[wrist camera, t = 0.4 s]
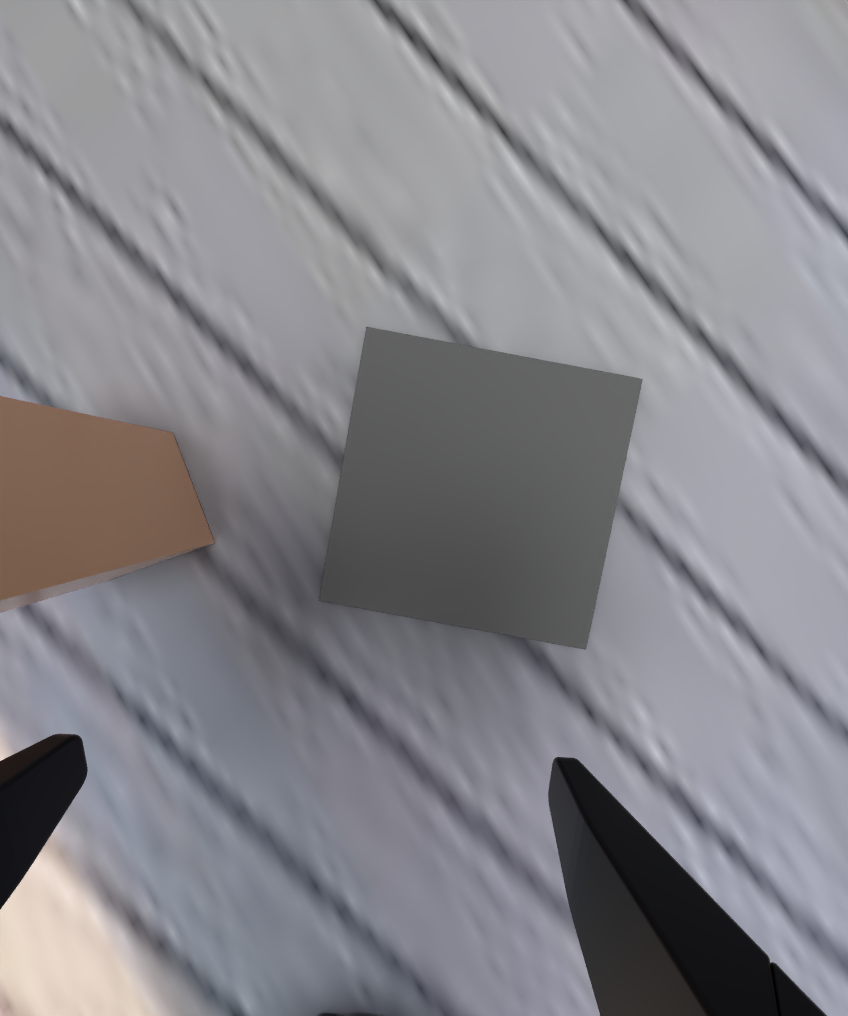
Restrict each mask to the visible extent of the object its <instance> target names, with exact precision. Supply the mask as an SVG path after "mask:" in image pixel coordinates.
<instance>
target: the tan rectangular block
mask: <svg viewBox="0 0 848 1016" xmlns="http://www.w3.org/2000/svg"><path fill="white" fill-rule="evenodd" d="M213 543H215V542H214V539H213V536H212V534H211V531H210V529H209V526H208V523H207V521H206V518H205V515H204V513H203V510H202V508H201V505H200V502H199V500H198V497H197V495H196V492H195V489H194V487H193V484H192V482H191V479H190V476H189V474H188V471H187V468H186V466H185V463H184V461H183V458H182V455H181V453H180V450H179V448H178V445H177V442H176V440H175V437H174V434H173V433H171V432H166V431H162V430H157V429H152V428H148V427H143V426H138V425H133V424H129V423H124V422H119V421H115V420H110V419H105V418H101V417H96V416H91V415H86V414H82V413H77V412H72V411H68V410H63V409H58V408H54V407H49V406H44V405H39V404H35V403H30V402H25V401H21V400H16V399H11V398H7V397H2V396H0V613H1V612H5V611H8V610H12V609H15V608H18V607H22V606H25V605H28V604H32V603H35V602H38V601H42V600H45V599H48V598H52V597H55V596H58V595H62V594H65V593H68V592H72V591H75V590H79V589H82V588H85V587H89V586H92V585H95V584H99V583H102V582H105V581H108V580H111V579H114V578H117V577H120V576H123V575H125V574H128V573H131V572H134V571H137V570H139V569H142V568H145V567H148V566H151V565H153V564H156V563H159V562H162V561H165V560H168V559H170V558H173V557H176V556H179V555H182V554H184V553H187V552H190V551H193V550H196V549H199V548H201V547H204V546H207V545H210V544H213Z"/></svg>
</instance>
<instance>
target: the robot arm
mask: <svg viewBox="0 0 848 1016" xmlns="http://www.w3.org/2000/svg"><path fill="white" fill-rule="evenodd" d="M87 770H88V769H87V763H86V757H85V752H84V746H83V741H82V739H81V737H80V736H79V735H75V734H55V735H52V736H50V737H48V738H46V739H44V740H42V741H40V742H38V743H36V744H34V745H32V746H30V747H28V748H26V749H24V750H22V751H20V752H18V753H16V754H14V755H12V756H10V757H8V758H6V759H4V760H2V761H0V909H1V908H2V906H3V905H4V904H5V902H6V901H7V900H8V898H9V897H10V896H11V894H12V893H13V891H14V890H15V889H16V887H17V886H18V884H19V883H20V882H21V880H22V879H23V877H24V876H25V874H26V873H27V871H28V870H29V868H30V867H31V865H32V864H33V862H34V861H35V859H36V857H37V856H38V854H39V853H40V851H41V850H42V848H43V846H44V845H45V843H46V842H47V840H48V839H49V837H50V836H51V834H52V832H53V831H54V829H55V828H56V826H57V825H58V823H59V821H60V820H61V818H62V817H63V815H64V814H65V812H66V810H67V809H68V807H69V806H70V804H71V803H72V801H73V799H74V798H75V796H76V795H77V793H78V792H79V790H80V789H81V787H82V785H83V783H84V781H85V779H86V776H87ZM548 798H549V807H550V812H551V817H552V822H553V827H554V833H555V838H556V843H557V848H558V853H559V858H560V863H561V868H562V873H563V878H564V883H565V888H566V893H567V898H568V903H569V907H570V911H571V914H572V918H573V922H574V926H575V929H576V933H577V936H578V939H579V943H580V946H581V950H582V953H583V957H584V960H585V964H586V967H587V971H588V974H589V978H590V981H591V984H592V988H593V991H594V995H595V998H596V1002H597V1005H598V1009H599V1012H600V1016H827V1015H826V1014H825V1013H824V1012H823V1011H822V1010H821V1009H820V1008H819V1007H818V1006H817V1005H816V1004H815V1003H814V1002H813V1001H812V1000H811V999H810V998H809V997H808V996H807V995H806V994H805V993H804V992H803V991H802V990H801V989H800V988H799V987H798V986H797V985H796V984H795V983H794V982H793V981H792V980H791V979H790V978H789V977H788V976H787V975H786V974H785V973H784V972H783V970H782V969H781V968H780V967H779V966H778V965H777V964H775V963H773V962H772V963H770V959H769V957H768V955H767V954H766V953H765V952H764V951H763V950H762V949H761V948H760V947H759V946H758V945H757V944H756V943H755V942H754V941H753V940H752V939H751V938H750V937H749V936H748V935H747V934H746V933H745V932H744V931H743V929H742V928H741V927H740V926H739V925H738V924H737V923H736V922H735V921H734V920H733V919H732V918H731V917H730V916H729V915H728V914H727V913H726V912H725V911H724V910H723V909H722V908H721V907H720V906H719V905H718V904H717V903H716V902H715V901H714V900H713V899H712V897H711V896H710V895H709V894H708V893H707V892H706V891H705V890H704V889H703V888H702V887H701V886H700V885H699V884H698V883H697V882H696V881H695V880H694V879H693V878H692V877H691V876H690V875H689V874H688V873H687V872H686V871H685V870H684V869H683V868H682V867H681V865H680V864H679V863H678V862H677V861H676V860H675V859H674V858H673V857H672V856H671V855H670V854H669V853H668V852H667V851H666V850H665V849H664V848H663V847H662V846H661V845H660V844H659V843H658V842H657V841H656V840H655V839H654V838H653V837H652V836H651V835H650V833H649V832H648V831H647V830H646V829H645V828H644V827H643V826H642V825H641V824H640V823H639V822H638V821H637V820H636V819H635V818H634V817H633V816H632V815H631V814H630V813H629V812H628V811H627V810H626V809H625V808H624V807H623V806H622V805H621V804H620V803H619V801H618V800H617V799H616V798H615V797H614V796H613V795H612V794H611V793H610V792H609V791H608V790H607V789H606V788H605V787H604V786H603V785H602V784H601V783H600V782H599V781H598V780H597V779H596V778H595V777H594V776H593V775H592V774H591V773H590V772H589V771H588V769H587V768H586V767H585V766H584V765H583V764H582V763H581V762H580V761H579V760H577V759H575V758H566V757H557V758H555V759H554V761H553V764H552V771H551V778H550V784H549V792H548Z"/></svg>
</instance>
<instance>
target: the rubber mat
mask: <svg viewBox="0 0 848 1016" xmlns="http://www.w3.org/2000/svg"><path fill="white" fill-rule="evenodd" d="M642 380H643V379H640V378H634V377H629V376H624V375H619V374H613V373H608V372H603V371H597V370H592V369H587V368H581V367H576V366H571V365H566V364H560V363H555V362H550V361H544V360H539V359H534V358H529V357H523V356H518V355H513V354H507V353H502V352H497V351H492V350H486V349H481V348H476V347H470V346H465V345H460V344H454V343H449V342H444V341H439V340H433V339H428V338H423V337H417V336H412V335H407V334H402V333H396V332H391V331H386V330H380V329H375V328H370V327H366V332H365V338H364V344H363V350H362V355H361V361H360V367H359V373H358V378H357V384H356V390H355V396H354V401H353V407H352V413H351V418H350V424H349V430H348V436H347V441H346V447H345V453H344V459H343V464H342V470H341V476H340V482H339V487H338V493H337V499H336V505H335V510H334V516H333V522H332V528H331V533H330V539H329V545H328V550H327V556H326V562H325V568H324V573H323V579H322V585H321V591H320V596H319V601H323V602H328V603H334V604H339V605H345V606H350V607H355V608H361V609H366V610H372V611H377V612H383V613H388V614H394V615H399V616H405V617H410V618H416V619H421V620H427V621H432V622H438V623H443V624H449V625H454V626H460V627H465V628H471V629H476V630H482V631H487V632H493V633H498V634H503V635H509V636H514V637H520V638H525V639H531V640H536V641H542V642H547V643H553V644H558V645H564V646H569V647H575V648H580V649H586V647H587V642H588V637H589V632H590V628H591V623H592V618H593V613H594V608H595V604H596V599H597V594H598V589H599V585H600V580H601V575H602V570H603V566H604V561H605V556H606V551H607V546H608V542H609V537H610V532H611V527H612V523H613V518H614V513H615V508H616V504H617V499H618V494H619V489H620V485H621V480H622V475H623V470H624V465H625V461H626V456H627V451H628V446H629V442H630V437H631V432H632V427H633V423H634V418H635V413H636V408H637V403H638V399H639V394H640V389H641V384H642Z"/></svg>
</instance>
